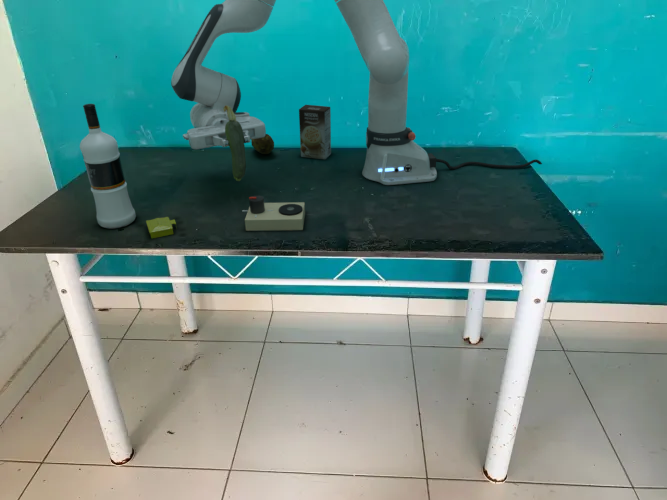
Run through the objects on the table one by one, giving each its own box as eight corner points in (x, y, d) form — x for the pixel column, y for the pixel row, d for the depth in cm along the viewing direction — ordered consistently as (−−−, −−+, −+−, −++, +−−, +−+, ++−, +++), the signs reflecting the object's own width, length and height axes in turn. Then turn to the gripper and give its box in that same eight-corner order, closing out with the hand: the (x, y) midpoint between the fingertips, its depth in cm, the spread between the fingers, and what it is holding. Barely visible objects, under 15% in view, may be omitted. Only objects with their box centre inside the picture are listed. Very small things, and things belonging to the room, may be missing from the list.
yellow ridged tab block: (140, 225, 132) (138, 215, 130) (177, 218, 135) (175, 208, 134) (145, 242, 124) (143, 231, 122) (184, 234, 127) (182, 224, 126)
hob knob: (265, 207, 133) (264, 194, 131) (263, 213, 129) (262, 200, 128) (251, 207, 133) (250, 194, 131) (249, 214, 129) (247, 200, 128)
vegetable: (250, 178, 139) (241, 102, 129) (246, 185, 135) (237, 107, 125) (234, 178, 139) (224, 102, 129) (229, 184, 135) (219, 107, 125)
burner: (303, 205, 133) (303, 203, 133) (301, 215, 128) (301, 213, 128) (279, 205, 134) (279, 203, 133) (277, 215, 128) (277, 213, 128)
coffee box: (299, 157, 175) (297, 109, 167) (306, 151, 180) (304, 104, 172) (325, 159, 172) (324, 110, 164) (332, 153, 177) (331, 106, 169)
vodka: (131, 228, 130) (103, 108, 116) (93, 231, 130) (60, 110, 115) (140, 213, 138) (114, 98, 124) (104, 215, 138) (74, 100, 123)
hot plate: (305, 212, 137) (304, 201, 135) (302, 230, 128) (302, 218, 126) (246, 213, 137) (245, 202, 135) (240, 230, 128) (238, 219, 127)
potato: (277, 148, 184) (275, 125, 180) (274, 160, 172) (272, 136, 168) (253, 148, 183) (251, 126, 180) (249, 161, 172) (246, 137, 168)
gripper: (179, 122, 135) (194, 136, 125) (252, 111, 144) (272, 122, 133) (183, 146, 139) (198, 161, 128) (254, 133, 147) (274, 146, 137)
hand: (236, 141), depth 131 cm, fingers closed on vegetable, 4 cm apart
